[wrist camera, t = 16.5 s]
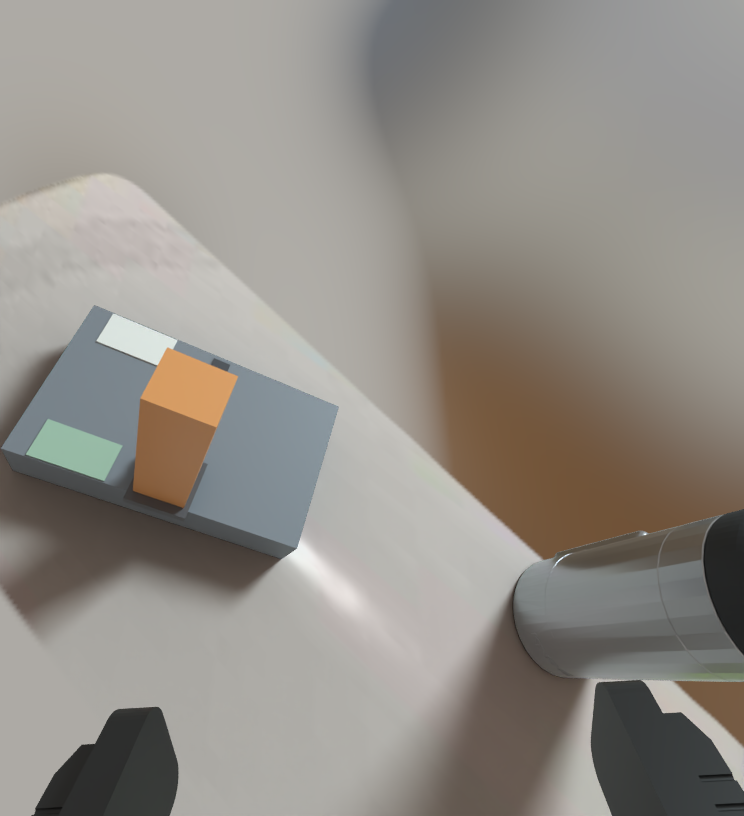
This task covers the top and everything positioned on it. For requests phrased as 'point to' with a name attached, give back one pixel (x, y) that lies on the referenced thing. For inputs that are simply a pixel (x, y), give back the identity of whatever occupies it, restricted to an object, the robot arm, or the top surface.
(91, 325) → the switch box
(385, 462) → the top surface
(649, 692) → the robot arm
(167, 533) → the top surface
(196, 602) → the top surface
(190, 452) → the handle
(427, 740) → the top surface
